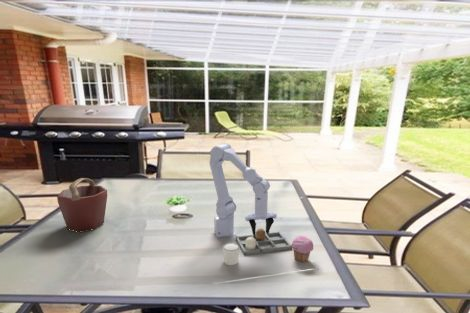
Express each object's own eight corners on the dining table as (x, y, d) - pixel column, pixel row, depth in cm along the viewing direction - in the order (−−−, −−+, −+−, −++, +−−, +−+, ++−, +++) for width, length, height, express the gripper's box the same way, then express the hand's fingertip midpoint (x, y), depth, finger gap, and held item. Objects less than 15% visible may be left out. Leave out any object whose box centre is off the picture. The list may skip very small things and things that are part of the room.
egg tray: (244, 256, 132) (244, 251, 132) (235, 240, 146) (235, 236, 146) (291, 249, 137) (292, 245, 137) (279, 235, 151) (279, 231, 151)
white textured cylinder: (230, 256, 132) (230, 241, 130) (242, 261, 127) (243, 246, 126) (219, 263, 126) (219, 247, 125) (232, 269, 122) (232, 252, 121)
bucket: (88, 237, 149) (83, 187, 144) (48, 233, 153) (42, 185, 148) (117, 218, 172) (113, 174, 167) (81, 215, 177) (77, 172, 172)
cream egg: (247, 252, 134) (247, 240, 133) (244, 247, 138) (244, 235, 137) (256, 251, 135) (257, 238, 134) (253, 246, 139) (253, 234, 138)
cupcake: (297, 252, 135) (298, 230, 133) (316, 258, 130) (317, 236, 128) (287, 260, 128) (288, 238, 126) (306, 267, 123) (307, 244, 121)
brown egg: (257, 243, 142) (257, 231, 141) (254, 239, 146) (254, 227, 145) (266, 242, 143) (266, 230, 142) (263, 237, 147) (263, 226, 146)
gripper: (248, 210, 136) (248, 239, 139) (279, 207, 139) (278, 235, 142) (243, 205, 143) (243, 232, 145) (273, 202, 146) (273, 229, 149)
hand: (260, 233), depth 144 cm, fingers open, 6 cm apart
